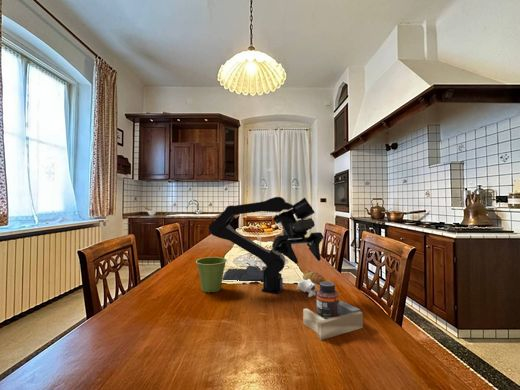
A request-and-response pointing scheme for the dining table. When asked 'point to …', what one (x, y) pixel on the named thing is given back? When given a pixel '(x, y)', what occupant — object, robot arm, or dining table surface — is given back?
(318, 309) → the supplement bottle
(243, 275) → the dark slate chunk
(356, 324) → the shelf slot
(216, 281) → the plant pot
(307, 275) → the pastry
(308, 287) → the white skull
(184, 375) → the dining table surface
